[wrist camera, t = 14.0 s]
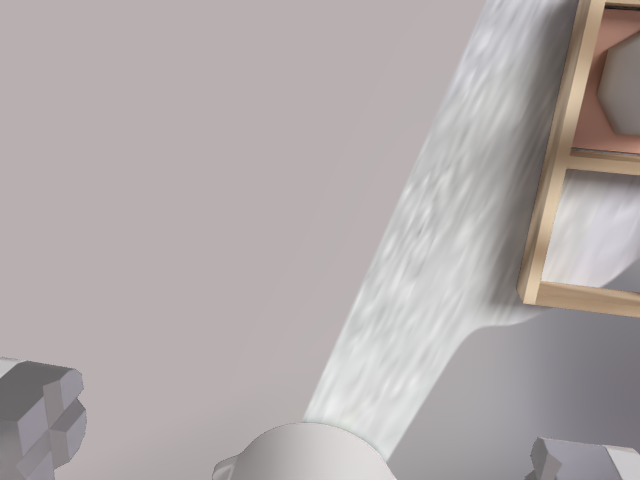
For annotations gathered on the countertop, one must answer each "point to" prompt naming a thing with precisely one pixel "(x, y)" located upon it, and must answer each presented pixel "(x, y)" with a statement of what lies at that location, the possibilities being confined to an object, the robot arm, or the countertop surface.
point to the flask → (622, 87)
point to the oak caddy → (581, 154)
